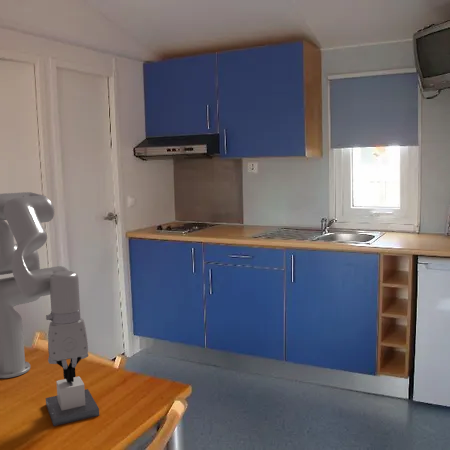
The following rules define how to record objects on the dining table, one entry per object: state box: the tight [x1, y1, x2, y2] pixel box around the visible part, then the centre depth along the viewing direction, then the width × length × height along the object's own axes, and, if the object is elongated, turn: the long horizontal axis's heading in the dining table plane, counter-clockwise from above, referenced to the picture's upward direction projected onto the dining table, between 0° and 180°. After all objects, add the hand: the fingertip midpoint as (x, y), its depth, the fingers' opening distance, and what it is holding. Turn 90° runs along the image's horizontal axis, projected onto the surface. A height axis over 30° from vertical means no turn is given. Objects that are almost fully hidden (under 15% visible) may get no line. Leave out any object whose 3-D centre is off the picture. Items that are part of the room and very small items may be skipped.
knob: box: [56, 376, 86, 410], centre depth 146 cm, size 6×6×6 cm
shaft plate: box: [45, 388, 100, 427], centre depth 146 cm, size 14×12×6 cm
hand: (69, 380), depth 145 cm, fingers closed
